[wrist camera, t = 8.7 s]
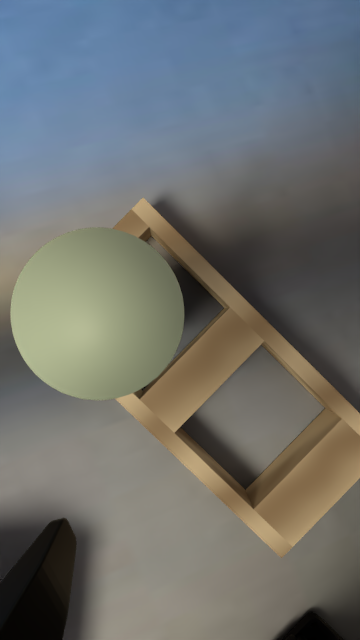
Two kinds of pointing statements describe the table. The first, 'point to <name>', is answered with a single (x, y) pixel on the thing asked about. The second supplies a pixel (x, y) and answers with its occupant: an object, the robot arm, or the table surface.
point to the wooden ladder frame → (211, 372)
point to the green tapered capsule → (97, 313)
